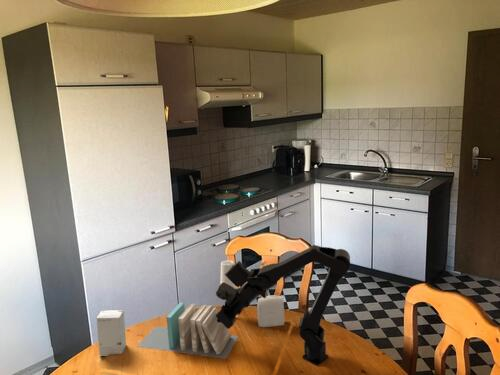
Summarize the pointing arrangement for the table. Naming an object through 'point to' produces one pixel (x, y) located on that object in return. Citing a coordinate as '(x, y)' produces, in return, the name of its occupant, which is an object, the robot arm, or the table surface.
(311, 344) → the robot arm
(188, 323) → the domino
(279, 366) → the table surface
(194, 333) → the domino
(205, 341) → the domino
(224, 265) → the champagne flute
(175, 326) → the domino
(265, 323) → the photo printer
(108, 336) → the skincare box
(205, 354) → the domino board
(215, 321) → the domino
